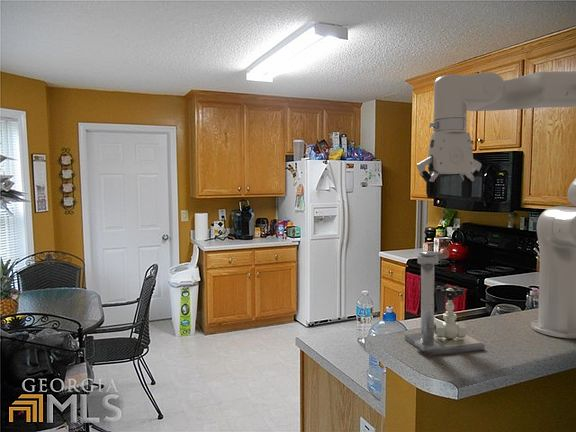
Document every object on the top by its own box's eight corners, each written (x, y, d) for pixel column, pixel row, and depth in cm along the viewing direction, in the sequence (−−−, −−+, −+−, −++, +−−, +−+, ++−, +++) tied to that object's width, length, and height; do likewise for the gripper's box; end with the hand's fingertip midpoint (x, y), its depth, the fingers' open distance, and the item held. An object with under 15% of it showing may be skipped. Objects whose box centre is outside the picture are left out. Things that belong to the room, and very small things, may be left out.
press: (455, 334, 111) (456, 244, 110) (484, 349, 101) (486, 250, 99) (401, 339, 108) (401, 247, 106) (425, 356, 97) (425, 254, 96)
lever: (433, 267, 96) (433, 256, 95) (414, 265, 98) (414, 254, 98) (454, 258, 106) (454, 248, 106) (436, 257, 109) (436, 247, 109)
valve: (468, 343, 101) (469, 291, 100) (438, 343, 102) (439, 291, 101) (459, 333, 108) (460, 285, 107) (431, 333, 108) (432, 285, 108)
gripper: (426, 125, 103) (425, 199, 104) (490, 126, 107) (489, 197, 108) (410, 129, 110) (409, 198, 111) (471, 130, 114) (470, 196, 115)
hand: (449, 197), depth 110 cm, fingers open, 9 cm apart
